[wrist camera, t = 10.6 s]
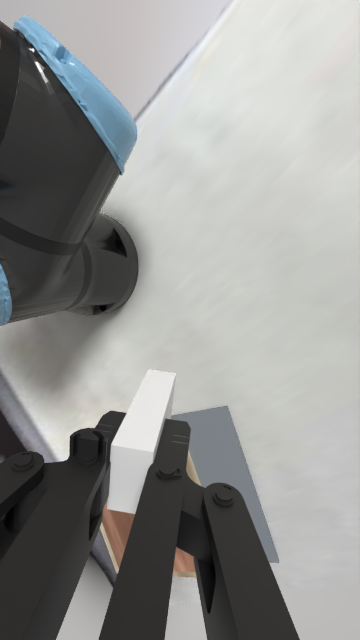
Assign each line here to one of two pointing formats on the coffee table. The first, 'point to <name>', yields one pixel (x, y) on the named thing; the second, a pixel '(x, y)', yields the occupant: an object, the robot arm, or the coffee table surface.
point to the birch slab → (119, 528)
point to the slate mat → (225, 463)
